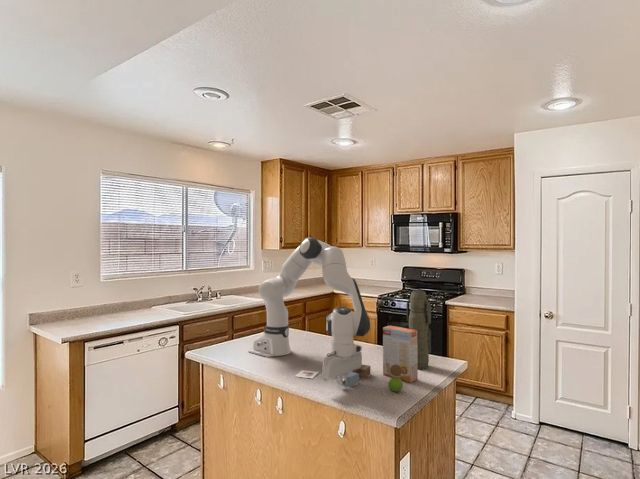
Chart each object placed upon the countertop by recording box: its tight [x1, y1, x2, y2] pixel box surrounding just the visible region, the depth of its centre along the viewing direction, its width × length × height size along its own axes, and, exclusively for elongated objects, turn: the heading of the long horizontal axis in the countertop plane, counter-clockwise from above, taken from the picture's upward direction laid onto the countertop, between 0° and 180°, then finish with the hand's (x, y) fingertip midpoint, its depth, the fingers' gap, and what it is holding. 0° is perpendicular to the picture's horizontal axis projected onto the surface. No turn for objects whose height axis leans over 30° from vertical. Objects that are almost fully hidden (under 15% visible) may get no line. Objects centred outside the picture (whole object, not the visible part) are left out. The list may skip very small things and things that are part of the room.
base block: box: [352, 364, 372, 380], centre depth 167 cm, size 6×6×4 cm
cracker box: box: [382, 325, 419, 383], centre depth 165 cm, size 14×6×21 cm, turn 43°
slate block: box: [343, 371, 360, 388], centre depth 158 cm, size 6×6×4 cm
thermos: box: [406, 289, 432, 370], centre depth 179 cm, size 9×12×35 cm
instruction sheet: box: [294, 369, 319, 380], centre depth 168 cm, size 8×8×1 cm
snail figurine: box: [386, 359, 404, 393], centre depth 150 cm, size 5×6×12 cm
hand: (342, 384), depth 153 cm, fingers closed
